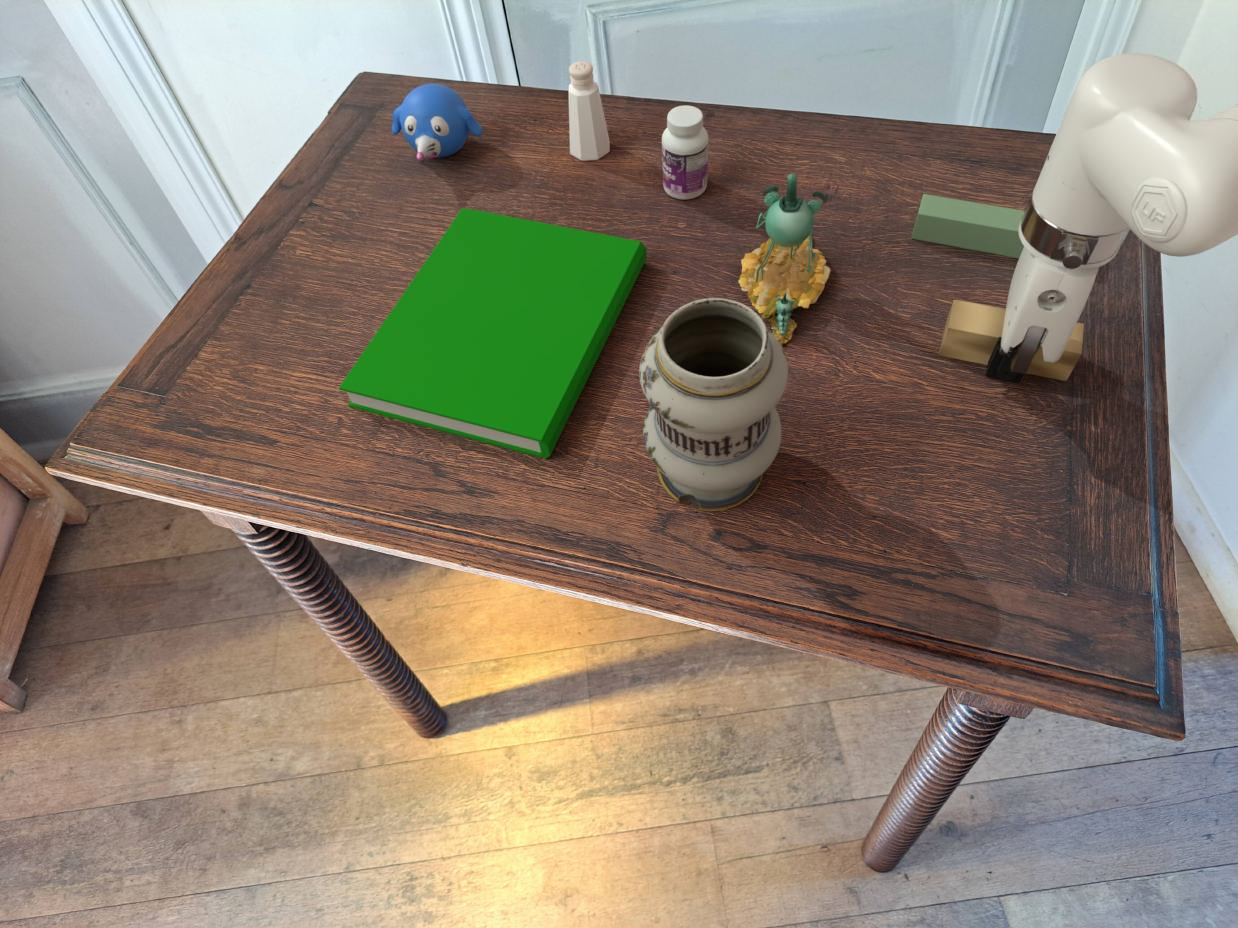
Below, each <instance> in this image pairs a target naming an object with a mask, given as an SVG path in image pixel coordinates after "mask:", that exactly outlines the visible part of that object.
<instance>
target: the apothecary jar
mask: <svg viewBox="0 0 1238 928" xmlns="http://www.w3.org/2000/svg"><path fill="white" fill-rule="evenodd" d="M763 319H764V318H762V316H761V315H760V314H758V313H757V312H756V311H755V310H754V309H752V308H751V307H750V306H748V305H746V304H744V303H742V302H740V301H737V300H733V299H729V298H723V297H707V298H701V299H697V300H694V301H690V302H688V303H686V304H684V305H682V306H680V307H678V308H677V309H676V310H675V311H673V312H672V313H671V314H670V315H669V316H668V317H667V318H666V320H665V321H664V322H663V324H662V325H661V327H660V328H659V329H658V330H657V331H656V332H655V333H654V334H653V336H652V337H650V339H649V341H648V342H647V344H646V345H645V348H644V349H643V351H642V354H641V357H640V363H639V369H638V373H639V375H638V376H639V382H640V387H641V390H642V392H643V395H644V396H645V399H646V401H647V403H649V407H648V409H647V411H646V413H645V417H644V419H643V424H642V426H643V427H642V437H643V444H644V447H645V450H646V452H647V455H648V457H649V459H650V460H651V462H652V463H653V465H654V466H655V467H656V473H657V476H658V479H659V482H660V485H661V486H662V487H663V489H664V490H665V492H666V493H667V494H668V495H669V496H670V497H671V498H672V499H673V500H675V501H676V502H678V503H679V504H680V503H681V504H691V505H694V506H695V507H696V508H697V509H698V510H699V511H702V512H723V511H727V510H730V509H733V508H735V507H738V506H739V505H741V504H743V503H745V502H746V501H747V500H748V499H750V498H751V497H752V496H753V495H754V494H755V492H756V491H757V490H758V488H759V486H760V485H761V482H762V478H763V474H764V473H765V472H766V471H767V470H768V468H769V467H770V466H771V465H772V464H773V462H774V460H775V459H776V457H777V455H778V453H779V450H780V447H781V443H782V433H783V432H782V424H781V423H782V422H781V418H780V414H779V413H778V410H777V408H776V406H777V404H778V403H779V402H780V401H781V398H782V397H783V394H784V392H785V391H786V387H787V384H788V378H789V363H788V359H787V356H786V355H787V354H786V352H785V349H784V348H783V345H781V344H780V342H779V341H778V339H777V338H776V337H775V336H774V334H773V331H771V330H770V329H769V328H767V324H766V323H765V321H764V320H763Z"/></svg>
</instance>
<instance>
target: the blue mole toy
mask: <svg viewBox="0 0 1238 928" xmlns="http://www.w3.org/2000/svg"><path fill="white" fill-rule="evenodd" d="M390 129H391V132H392V134H393V135H396V136H397V135H398V134H399V133H400V132H401V131H402V133H403V136H404V138H405V140H406V141H407V143H408V144H409V145H410V147H412V149H413V150H415V151H416V152H417V153H416V160H418V161H419V162H420V161H423V160H424V158H428V159H435V158H436V159H437V158H438V159H439V158H440V159H441V158H445V157H449V156H452V155H454V154H455V153H457V152H459V150H461V149H462V148H463V146H464V145H465V144H466V142H467V140H468V137H469V135H470V133H471V134H472V135H473V136H475V137H481V136H482V135H483V132H484V129H483V127H482V126H481V124H480V123H479V122H478V121H477V120H476V119H475V118H474V116H473V114H472V113H471V112H470V110H469V109H468V107H467V105H466V102H465V101H464V99H463V98H462V96H460V94H459V93H457V91H455V90H454V89H452V88H451V87H450V86H447V85H444V84H441V83H425V84H422V85H418V86H417V87H414V88H413V89H412V90H411V91H410V92H409V93H408V94H407V95H406V96H405V98H404V100H403V102H402V103H401V105H399V106H397V107H396V108H395V109H394V110H393V112H392V125H391V127H390Z"/></svg>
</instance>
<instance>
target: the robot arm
mask: <svg viewBox="0 0 1238 928" xmlns="http://www.w3.org/2000/svg"><path fill="white" fill-rule="evenodd" d="M1197 103H1198V88H1197V84H1196V82H1195V80H1194V79H1193V77H1192V76H1191V74H1190V73H1188V72H1187V70H1185V69H1184V68H1183V67H1182V66H1180V65H1179V64H1177V63H1175V62H1173V61H1171V60H1170V59H1166V58H1164V57H1160V56H1157V55H1152V54H1147V53H1139V52H1138V53H1135V52H1133V53H1129V52H1128V53H1120V54H1115V55H1112V56H1111V55H1110V56H1107V57H1105V58H1103V59H1101V60H1099V61H1097V62H1096V63H1094V64H1093V65H1091V66H1089V68H1088V69H1087V70H1086V71H1085V72H1084V73H1083V74H1082V75H1081V77H1080V78H1079V80H1078V82H1077V84H1076V85H1075V88H1074V90H1073V92H1072V94H1071V96H1070V100H1069V101H1068V104H1067V106H1066V109H1065V112H1064V115H1063V117H1062V119H1061V121H1060V125H1059V127H1058V129H1057V131H1056V134H1055V137H1054V139H1053V142H1052V143H1051V146H1050V148H1049V151H1048V154H1047V155H1046V159H1045V161H1044V163H1043V167H1042V168H1041V170H1040V173H1039V176H1038V179H1037V180H1036V183H1035V186H1034V188H1033V191H1032V192H1031V195H1030V197H1029V199H1028V203H1027V205H1026V207H1025V210H1024V211H1025V212H1024V215H1023V217H1022V220H1021V222H1020V225H1019V229H1018V233H1019V238H1020V240H1021V242H1022V244H1023V245H1024V248H1023V250H1022V253H1021V255H1020V258H1018V260H1017V263H1016V265H1015V268H1014V272H1013V274H1012V277H1011V278H1012V279H1011V281H1010V286H1009V290H1008V295H1007V300H1006V307H1005V309H1006V312H1005V319H1004V325H1003V332H1002V337H999V338H998V340H997V342H996V345H995V347H994V349H993V352H992V354H991V356H990V358H989V361H988V364H987V365H986V370H985V377H986V378H987V379H992V380H998V381H1002V382H1006V383H1010V384H1020V383H1021V382H1022V381H1023V379H1024V378H1025V377H1024V376H1025V375H1027V373H1026V372H1027V370H1028V368H1029V365H1030V363H1031V361H1032V359H1033V357H1034V355H1035V354H1036V352H1037V350H1038V349H1039V347H1040V345H1041V343H1042V350H1043V358H1044V361H1045V362H1051V363H1055V362H1056V361H1058V360H1059V359H1060V357H1061V355H1062V353H1063V351H1064V349H1065V347H1066V345H1067V343H1068V341H1069V338H1070V336H1071V334H1072V332H1073V330H1074V328H1075V326H1076V324H1077V323H1078V321H1079V319H1080V317H1081V315H1082V313H1083V311H1084V309H1085V307H1086V304H1087V301H1088V299H1089V296H1090V294H1091V291H1092V288H1093V286H1094V284H1095V281H1096V277H1097V275H1098V272H1099V268H1100V267H1102V266H1105V265H1106V264H1108V263H1110V262H1111V261H1112V260H1113V259H1114V258H1115V257H1116V256H1117V254H1118V253H1119V251H1120V248H1121V247H1122V245H1123V243H1124V241H1125V239H1126V238H1127V236H1128V234H1129V232H1130V231H1131V232H1132V233H1133V234H1134V235H1135V236H1136V237H1137V238H1138V240H1140V241H1141V242H1142V243H1144V244H1145V245H1146V246H1148V247H1149V248H1151V249H1152V250H1154V251H1156V252H1158V253H1160V254H1163V255H1166V256H1170V257H1180V258H1181V257H1182V258H1183V257H1191V256H1195V255H1198V254H1202V253H1204V252H1207V251H1209V250H1211V249H1214V248H1215V247H1217V246H1220V245H1221V244H1224V243H1225V242H1227V241H1228V240H1230V239H1231V238H1234V237H1236V236H1237V235H1238V103H1237V104H1235V105H1233V106H1231V107H1229V108H1227V109H1225V110H1222V111H1221V112H1219V113H1217V114H1215V115H1212V116H1210V117H1209V118H1207V119H1199V120H1191V118H1192V116H1193V114H1194V112H1195V110H1196V106H1197Z"/></svg>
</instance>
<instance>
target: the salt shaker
mask: <svg viewBox="0 0 1238 928" xmlns="http://www.w3.org/2000/svg"><path fill="white" fill-rule="evenodd" d="M593 71H594V66H593V64H592V63H591V62H588V61H585V60H581V61H576V62H573V63H572V64H571V65H570V66H569V68H568V72H569V75H570V81H571V83H570V84H568V128H569V130H568V131H569V133H568V134H569V155H571V156H572V157H573V158H576V159H577V160H579V161H581V162H588V161H589V162H590V161H598V160H600V159H601V158H603V157H604V156H605V155H607V154H608V153H610V150H611V149H610V148H611V147H610V137H609V132H608V126H607V121H606V117H605V113H604V112H605V111H604V107H603V102H602V98H601V97H602V96H601V92H600V87H599V85H598V82H596V81H594V73H593Z"/></svg>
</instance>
